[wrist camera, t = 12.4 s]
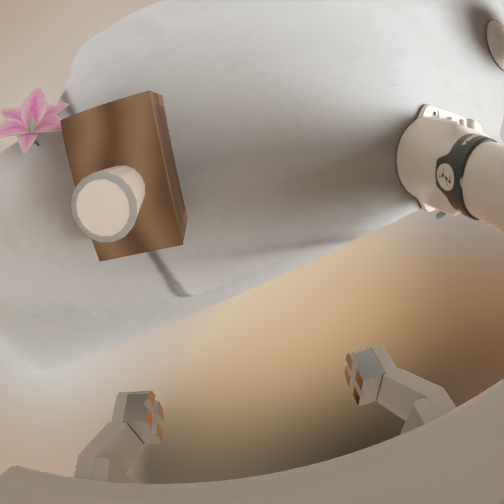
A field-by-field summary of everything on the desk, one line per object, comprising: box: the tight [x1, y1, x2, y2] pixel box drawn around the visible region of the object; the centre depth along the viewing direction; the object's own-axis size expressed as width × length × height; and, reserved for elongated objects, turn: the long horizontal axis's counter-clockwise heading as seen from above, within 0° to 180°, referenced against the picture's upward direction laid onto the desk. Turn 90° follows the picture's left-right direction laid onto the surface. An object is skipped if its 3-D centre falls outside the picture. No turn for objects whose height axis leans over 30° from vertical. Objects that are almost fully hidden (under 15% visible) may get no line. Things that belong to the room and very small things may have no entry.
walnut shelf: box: [60, 91, 187, 261], centre depth 35 cm, size 11×18×9 cm, turn 8°
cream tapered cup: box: [71, 165, 145, 242], centre depth 28 cm, size 7×7×7 cm
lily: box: [0, 88, 69, 154], centre depth 31 cm, size 12×12×10 cm
